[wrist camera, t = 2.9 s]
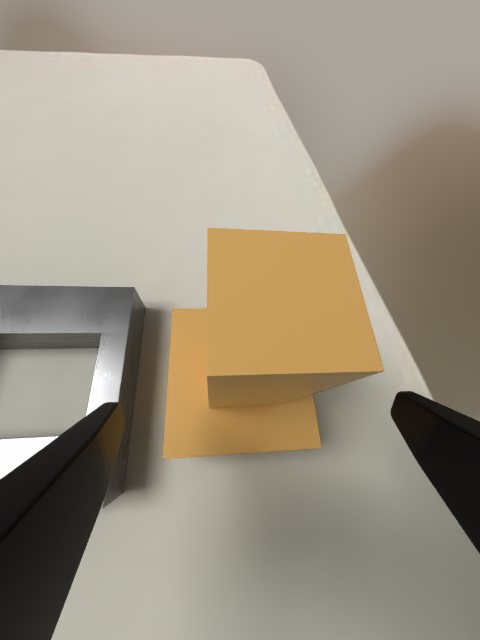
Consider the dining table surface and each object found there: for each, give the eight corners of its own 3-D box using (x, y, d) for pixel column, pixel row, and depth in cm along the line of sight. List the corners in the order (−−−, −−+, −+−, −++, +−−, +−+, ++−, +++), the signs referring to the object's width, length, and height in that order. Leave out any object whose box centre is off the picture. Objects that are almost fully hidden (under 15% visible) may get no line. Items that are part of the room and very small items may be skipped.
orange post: (296, 443, 16) (530, 489, 4) (173, 451, 15) (47, 539, 3) (282, 331, 19) (396, 182, 8) (180, 331, 18) (125, 161, 7)
